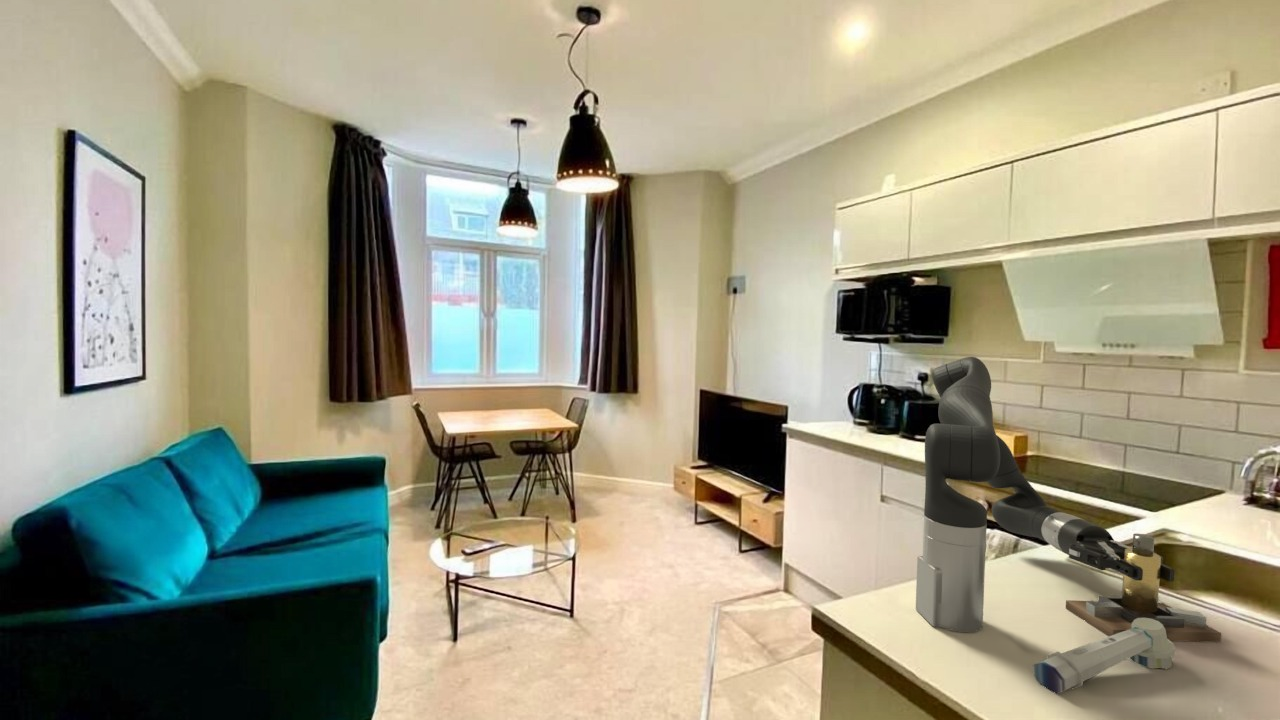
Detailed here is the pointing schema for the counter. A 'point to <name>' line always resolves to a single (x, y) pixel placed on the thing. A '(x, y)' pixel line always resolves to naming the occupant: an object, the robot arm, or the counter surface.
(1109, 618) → the walnut plate
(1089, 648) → the grey long angled piece
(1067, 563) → the counter surface
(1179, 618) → the collar and shafts
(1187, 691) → the counter surface
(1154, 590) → the gold perfume bottle
